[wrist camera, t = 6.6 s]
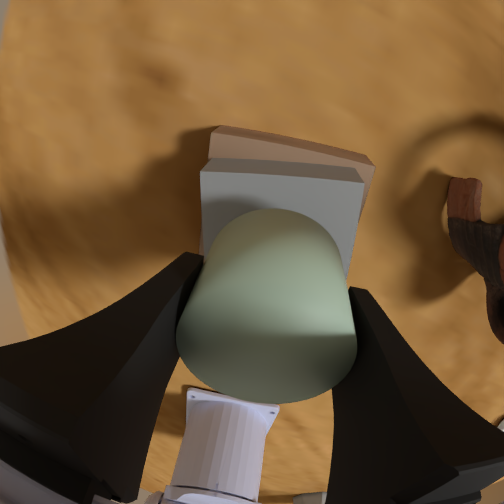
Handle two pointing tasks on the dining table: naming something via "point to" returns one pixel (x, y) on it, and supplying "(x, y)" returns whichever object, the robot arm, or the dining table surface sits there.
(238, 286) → the green cylinder
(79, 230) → the dining table surface
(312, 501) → the coffee maker
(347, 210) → the tower top
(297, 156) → the tower base
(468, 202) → the pottery mug
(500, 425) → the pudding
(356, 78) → the dining table surface
